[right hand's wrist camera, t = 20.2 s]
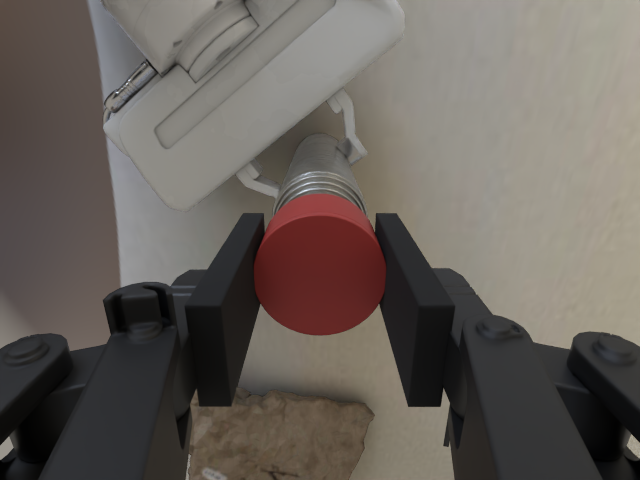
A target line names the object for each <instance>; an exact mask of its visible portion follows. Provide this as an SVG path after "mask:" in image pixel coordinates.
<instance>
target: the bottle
mask: <svg viewBox="0 0 640 480" xmlns="http://www.w3.org/2000/svg"><path fill="white" fill-rule="evenodd" d="M336 143H338V141H337V140H336V139H335V138H334V137H332V136H330V135H327V134H322V133H317V134H313V135H310V136H308V137H306V138H305V139H304V140H302V142H301V143H300V144H299V146H298V148H297V150H296V152H295V154H294V157H293V159H292V162H291V164H290V166H289V169H288V171H287V174H286V176H285V178H284V181H283V183H282V186H281V188H280V190H279V193H278V195H277V198H276V200H275V203H274V206H273V212H272V218H273V216H274V215H275V214H276V213H277V211H278V210H280V209H281V208H282V207H283V206H284V205H286V204H287V203H288V202H290V201H292V200H294V199H296V198H299V197H301V196H305V195H310V194H330V195H335V196H338V197H341V198H344V199H346V200H348V201H350V202H351V203H353V204H354V205H356V206H357V207H358V208H359V209H360V210H361V211H362V212H363V213H364V214H365V215H366V217H367V218H368V213H367V207H366V204H365V201H364V198H363V196H362V193H361V191H360V189H359V186H358V184H357V181H356V179H355V177H354V174H353V172H352V169H351V167H350V165H349V162H348V160H347V158H346V156H345V155H344V154H343V153H342V152H341V151H340V149H339V148H338V147H337V144H336Z"/></svg>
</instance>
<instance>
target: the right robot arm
mask: <svg viewBox="0 0 640 480" xmlns="http://www.w3.org/2000/svg"><path fill="white" fill-rule="evenodd" d="M264 234H265V228H264V213H243V215H242V216H241V218H240V219H239V221H238V222H237V224H236V226H235V227H234V229H233V230H232V232H231V233H230V235H229V236H228V238H227V240H226V241H225V243H224V244H223V246H222V247H221V249H220V251H219V252H218V254H217V255H216V257H215V258H214V260H213V262H212V263H211V265H210V266H209V268H208V269H207V270H189V271H187V272H185V273H184V274H182V275H181V276H179V277H177V278H176V280H175V281H174V282H173V284H172V285H171V286H168V285H167V284H164V283H159V282H142V283H136V284H131V285H128V286H125V287H122V288H119V289H117V290H116V291H114V292H112V293H110V294H109V295H108V296H107V297H106V298H105V299H104V300H103V303H104V307H105V312H106V316H107V320H108V324H109V328H110V333H111V336H110V338H109V340H108V342H107V344H104V345H101V346H96V347H91V348H85V349H80V350H75V351H70V350H69V346H68V343H67V340H66V339H65V338H64V337H63V336H62V335H58V334H51V333H49V334H36V335H31V336H30V337H28V336H27V337H24V338H20V339H19V340H17V341H15V342H12V343H10V344H8V345H6V346H4V347H3V348H1V349H0V445H1V444H2V443H3V442H4V441H5V440H6V439H7V438H8V437H10V439H11V442H12V444H13V447H14V448H13V449H12V450H11V451H10V452H9V454H8V455H7V456H5V457H4V458H3V459H2V460H0V480H185V479H186V471H187V462H188V454H189V446H190V438H191V430H192V422H193V420H192V413H191V407H190V403H191V401H192V398H193V396H194V393H195V391H196V389H197V395H198V402H199V407H232V403H233V399H234V396H235V392H236V389H237V385H238V382H239V378H240V375H241V371H242V367H243V364H244V360H245V357H246V353H247V350H248V346H249V343H250V339H251V336H252V332H253V328H254V325H255V321H256V318H257V314H258V311H259V307H260V304H261V303H260V301H259V299H258V297H257V295H256V292H255V282H254V261H255V257H256V255H257V252H258V250H259V247H260V244H261V242H262V239H263V237H264ZM375 235H376V237H377V240H378V242H379V245H380V247H381V250H382V252H383V255H384V258H385V261H386V279H385V291H384V294H383V297H382V299H381V301H380V303H379V304H380V308H381V312H382V315H383V319H384V322H385V326H386V329H387V333H388V336H389V340H390V343H391V347H392V351H393V354H394V358H395V361H396V365H397V368H398V372H399V375H400V379H401V383H402V386H403V390H404V393H405V397H406V400H407V404H408V407H441V400H442V394H443V387H444V390H445V392H446V394H447V397H448V399H449V402H450V407H449V413H448V420H447V426H446V432H445V439H444V446H446V447H449V442H450V445H451V453H452V461H453V470H454V478H455V480H640V459H639V458H638V457H637V456H636V455H634V454H633V453H632V452H631V450H630V449H629V448H628V447H627V443H628V441H629V438H630V436H631V434H632V435H633V436H634V437H635V438H636V439H637V440H638V441H639V442H640V347H639V346H638V345H636V344H634V343H632V342H630V341H628V340H625V339H623V338H622V337H620V336H616V335H613V334H612V335H610V334H609V333H604V332H601V333H600V332H584V333H579V334H578V335H576V336H575V337H574V338H573V342H572V345H571V349H570V350H569V349H564V348H559V347H553V346H548V345H543V344H538V343H534V342H533V341H532V339H531V337H530V335H529V334H528V333H527V331H526V330H525V329H524V328H523V327H522V326H520V325H519V324H517V323H515V322H514V321H512V320H509V319H506V318H504V317H501V316H496V315H493V314H492V313H491V312H490V310H489V309H488V308H487V307H486V305H485V304H484V303H483V301H482V300H481V299H480V298H479V296H478V295H476V293H475V291H474V290H473V289H472V287H470V285H469V284H468V282H467V281H466V280H465V278H464V277H463V276H462V275H460V274H458V273H457V272H455V271H453V270H452V269H450V268H431V267H430V265H429V264H428V262H427V260H426V259H425V257H424V256H423V254H422V253H421V251H420V249H419V248H418V246H417V245H416V243H415V242H414V240H413V238H412V237H411V235H410V234H409V232H408V231H407V229H406V227H405V226H404V224H403V223H402V221H401V220H400V218H399V216H398V215H397V213H376V224H375Z"/></svg>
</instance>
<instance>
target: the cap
mask: <svg viewBox="0 0 640 480" xmlns="http://www.w3.org/2000/svg"><path fill="white" fill-rule="evenodd" d="M385 279H386V261H385V258H384V255H383V252H382V250H381V247H380V245H379V242H378V240H377V237H376V235H375V232H374V230H373V227H372V225H371V223H370V221H369V219H368V218H367V217H366V215H365V214H364V213H363V212H362V211H361V210H360V209H359V208H358V207H357V206H356V205H354V204H353V203H351V202H350V201H348V200H346V199H344V198H341V197H338V196H335V195H330V194H310V195H305V196H301V197H299V198H296V199H294V200H292V201H290V202H288V203H287V204H286V205H284V206H283V207H282V208H281V209H280V210H278V211H277V213H276V214H275V215H274V216H273V218H272V219H271V221H270V223H269V225H268V227H267V229H266V232H265V234H264V237H263V239H262V242H261V244H260V247H259V250H258V252H257V255H256V257H255V261H254V282H255V292H256V295H257V297H258V299H259V301H260V303H261V305H262V306H263V308H264V309H265V310H266V311H267V313H268V314H269V315H270V316H271V317H272V318H273V319H275V320H276V321H277V322H279V323H280V324H281V325H283V326H285V327H287V328H289V329H291V330H294V331H296V332H300V333H303V334H309V335H331V334H336V333H340V332H343V331H346V330H349V329H351V328H353V327H355V326H357V325H358V324H360V323H361V322H363V321H364V320H365V319H367V318H368V317H369V316H370V315H371V314H372V313H373V311H374V310H375V309H376V307H377V306H378V304H379V303H380V301H381V299H382V297H383V294H384V291H385Z"/></svg>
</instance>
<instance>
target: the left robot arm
mask: <svg viewBox="0 0 640 480" xmlns="http://www.w3.org/2000/svg"><path fill="white" fill-rule="evenodd" d="M99 1H100V2H101V4H102V5H103V6H104V8H105V9H106V10H107V12H108V13H109V14H110V15H111V16H112V18H113V19H114V20H115V21H116V22H117V24H118V25H119V26H120V27H121V28H122V30H123V31H124V32H125V33H126V34H127V36H128V37H129V38H130V39H131V40H132V42H133V43H134V44H135V45H136V46H137V47H138V49H139V50H140V51H141V52H142V53H143V55H144V56H145V57H146V58H147V59H146V60H145V61H144V62H143V63H142V64H141V65H140V66H139V67H138V68H137V69H136V70H135V71H134V72H133V73H132V74H131V75H130V76H129V77H128V79H127V80H126V81H125V83H124V84H123V85H122V86H121V87H120V88H119V89H116V90H114V91H113V92H112V93H111V94H110V95H109V96H108V97H107V99H106V100H105V102H104V105H105V107H106V109H105V111H104V114H103V125H104V126H103V129H104V131H105V133H106V135H107V136H108V137H109V139H110V140H111V141H112V142H113V143H114V144H115V145H116V146H117V147H118V148H119V149H120V150H121V151H122V152H123V153H124V154H125V155H127V156H128V157H130V158H131V160H132V161H133V163H134V164H135V166H136V167H137V169H138V170H139V171H140V173H141V174H142V176H143V177H144V178H145V180H146V181H147V182H148V184H149V185H150V186H151V188H152V189H153V190H154V191H155V193H156V194H157V195H158V196H159V197H160V199H161V200H162V201H163V202H164V203H165V204H166V205H167V206H168V207H169V208H171V209H175V210H179V211H183V212H187V211H189V210H190V209H192V208H193V207H194V206H195V205H197V204H198V203H199V202H200V201H202V200H203V199H204V198H205V197H207V196H208V195H209V194H210V193H212V192H213V191H214V190H215V189H217V188H218V187H219V186H220V185H221V184H223V183H224V182H225V181H226V180H228V179H229V178H230V177H231V176H233V175H234V174H235V175H236V176H237V177H238V178H239V180H240V181H241V182H242V183H243V184H244V186H245V187H247V188H250V189H253V190H255V191H258V192H260V193H263V194H266V195H268V196H273V197H274V198H275V199H276V198H277V195H278V193H279V190H280V188H281V186H282V185H281V184H279V183H276V182H274V181H272V180H269V179H267V178H265V177H263V176H260V174H261V172H262V171H263V168H262V167H261V165H260V164H259V163H258V162H257V160H256V159H255V157H256V156H258V155H259V154H260V153H261V152H262V151H264V150H265V149H266V148H267V147H269V146H270V145H271V144H272V143H274V142H275V141H276V140H277V139H279V138H280V137H281V136H282V135H284V134H285V133H286V132H287V131H289V130H290V129H291V128H292V127H294V126H295V125H296V124H297V123H299V122H300V121H301V120H302V119H303V118H305V117H306V116H307V115H308V114H310V113H311V112H312V111H313V110H315V109H316V108H317V107H318V106H320V105H321V104H322V103H323V102H325V101H326V102H327V103H328V105H329V106H330V107H331V109H332V110H333V111H334V113H335V114H338V113H339V112H340V111H342V115H343V125H344V134H345V137H344V138H343V139H341V140H340V141H339V142H338V143H336V144H337V147H338V148H339V149H340V151H341V152H342V153H343V154H344V155H345V156H346V158H347V160H348V162H349V163H350V165H351V166H352V165H353V164H355V163H356V162H358V161H359V160H360V159H362V158H363V157H364V156H366V155H367V154H368V152H367V151H366V149H365V148H364V147H363V145H362V144H361V142H360V141H359V139H358V138H357V137H356V135H355V134H354V133H355V132H356V131H355V119H354V108H353V102H352V100H351V99H350V97H349V96H348V94H347V93H346V91H345V90H344V88H343V86H344V85H346V84H347V83H348V82H349V81H351V80H352V79H353V78H354V77H356V76H357V75H358V74H359V73H361V72H362V71H363V70H364V69H366V68H367V67H368V66H369V65H371V64H372V63H373V62H374V61H376V60H377V59H378V58H379V57H380V56H382V55H383V54H384V53H385V52H387V51H388V50H389V49H390V48H392V47H393V46H394V45H395V44H397V43H398V42H399V41H400V40H402V38H403V36H404V28H405V15H404V12H403V10H402V8H401V7H400V5H399V3H398V1H397V0H99ZM111 112H112V113H116V114H115V115H114V116H112V117H111V118H110V114H111Z"/></svg>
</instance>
